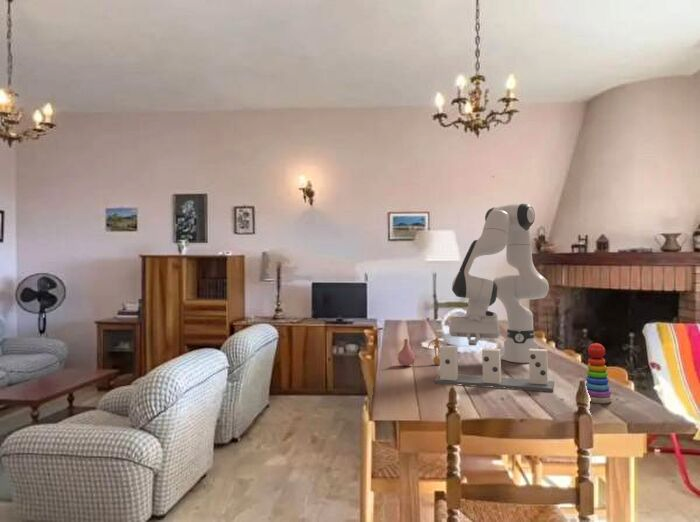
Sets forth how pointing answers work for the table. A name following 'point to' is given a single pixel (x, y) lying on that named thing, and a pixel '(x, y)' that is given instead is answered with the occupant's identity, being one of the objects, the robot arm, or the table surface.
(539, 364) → the key three
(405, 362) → the perfume bottle
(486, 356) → the key two
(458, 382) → the grey flat board
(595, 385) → the stacking toy
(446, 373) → the key one
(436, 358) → the figurine
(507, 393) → the table surface
